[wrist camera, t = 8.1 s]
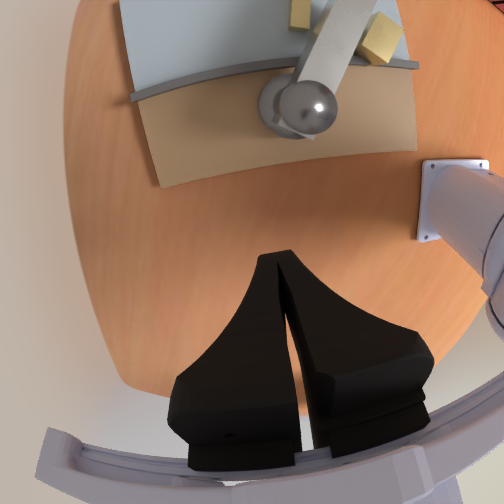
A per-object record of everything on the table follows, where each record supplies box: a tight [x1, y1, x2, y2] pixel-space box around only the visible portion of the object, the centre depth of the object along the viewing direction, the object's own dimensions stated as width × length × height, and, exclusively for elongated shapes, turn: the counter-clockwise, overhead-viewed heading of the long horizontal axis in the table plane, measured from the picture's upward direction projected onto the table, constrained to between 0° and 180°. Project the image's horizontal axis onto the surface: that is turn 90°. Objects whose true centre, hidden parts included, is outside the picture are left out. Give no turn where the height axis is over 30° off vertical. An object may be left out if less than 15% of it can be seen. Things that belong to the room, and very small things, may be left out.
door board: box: [119, 0, 419, 189], centre depth 14 cm, size 20×16×2 cm
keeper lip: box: [287, 0, 311, 33], centre depth 12 cm, size 3×1×1 cm, turn 176°
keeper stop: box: [352, 11, 404, 67], centre depth 12 cm, size 3×2×3 cm, turn 155°
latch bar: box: [271, 0, 377, 140], centre depth 11 cm, size 10×3×4 cm, turn 158°
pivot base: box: [257, 73, 307, 140], centre depth 15 cm, size 4×4×2 cm
